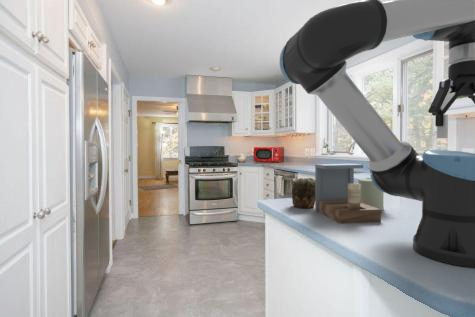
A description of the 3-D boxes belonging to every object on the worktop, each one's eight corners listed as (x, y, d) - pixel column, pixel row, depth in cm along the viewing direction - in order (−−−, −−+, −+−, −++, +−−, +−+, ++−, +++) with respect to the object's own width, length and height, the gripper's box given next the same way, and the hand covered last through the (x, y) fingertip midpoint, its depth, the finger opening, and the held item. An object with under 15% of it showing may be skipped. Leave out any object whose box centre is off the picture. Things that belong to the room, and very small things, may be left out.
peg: (362, 220, 90) (362, 184, 89) (351, 221, 89) (351, 185, 89) (356, 217, 94) (356, 183, 93) (345, 217, 93) (345, 183, 93)
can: (377, 206, 111) (378, 177, 110) (388, 211, 102) (388, 179, 101) (354, 205, 112) (354, 177, 111) (362, 211, 103) (363, 179, 102)
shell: (322, 209, 107) (322, 179, 106) (294, 209, 107) (294, 179, 106) (314, 203, 117) (314, 176, 117) (289, 203, 118) (289, 176, 117)
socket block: (380, 221, 88) (380, 209, 88) (340, 223, 87) (340, 211, 86) (353, 209, 105) (353, 199, 105) (318, 211, 103) (318, 200, 103)
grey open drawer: (363, 213, 99) (363, 164, 98) (324, 215, 97) (324, 165, 97) (351, 208, 107) (351, 163, 106) (315, 210, 105) (315, 164, 105)
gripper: (490, 67, 81) (488, 138, 82) (414, 66, 79) (413, 138, 79) (519, 59, 74) (516, 137, 75) (436, 57, 71) (434, 137, 72)
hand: (463, 138), depth 77 cm, fingers open, 13 cm apart
